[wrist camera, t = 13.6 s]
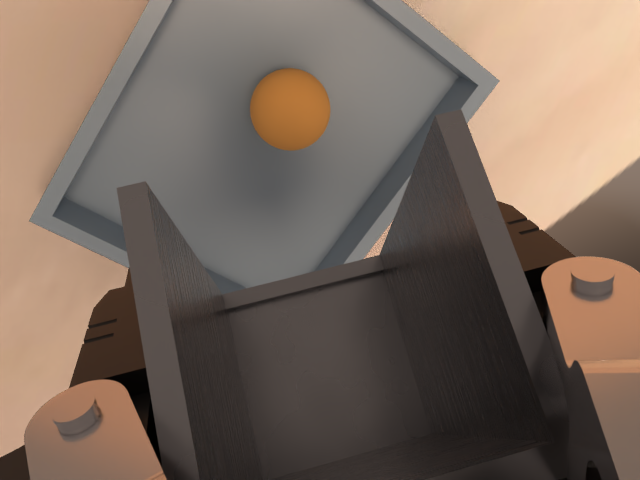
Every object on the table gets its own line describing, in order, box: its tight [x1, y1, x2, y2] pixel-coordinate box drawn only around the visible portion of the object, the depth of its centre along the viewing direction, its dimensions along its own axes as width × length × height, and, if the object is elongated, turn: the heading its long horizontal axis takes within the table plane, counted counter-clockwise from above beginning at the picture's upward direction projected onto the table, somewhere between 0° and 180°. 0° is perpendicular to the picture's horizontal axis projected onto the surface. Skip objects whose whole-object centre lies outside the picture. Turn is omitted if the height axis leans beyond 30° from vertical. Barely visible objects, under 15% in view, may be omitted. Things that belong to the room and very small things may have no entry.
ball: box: [250, 68, 330, 151], centre depth 21 cm, size 3×3×3 cm
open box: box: [117, 109, 569, 480], centre depth 11 cm, size 5×5×8 cm
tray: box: [29, 0, 499, 294], centre depth 22 cm, size 14×12×2 cm
